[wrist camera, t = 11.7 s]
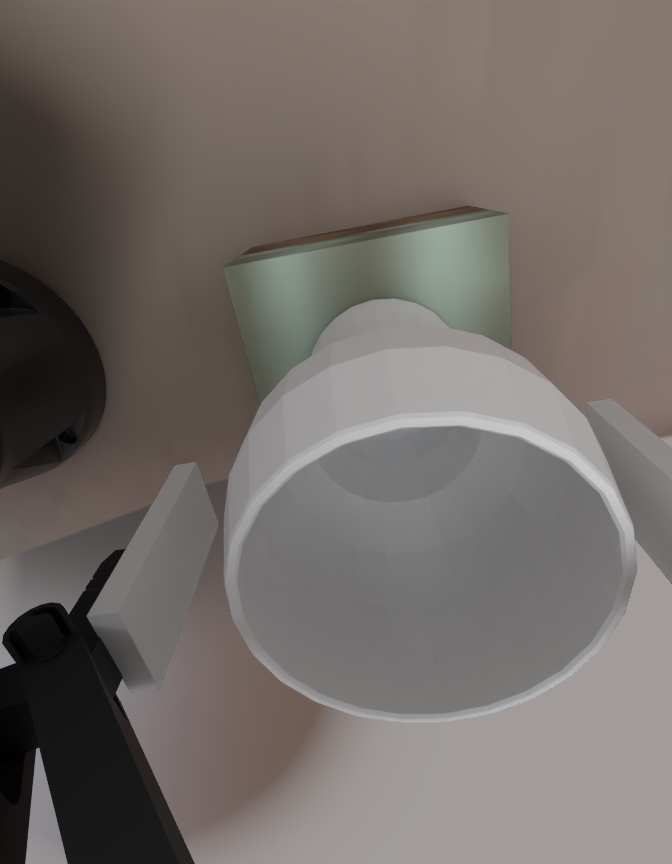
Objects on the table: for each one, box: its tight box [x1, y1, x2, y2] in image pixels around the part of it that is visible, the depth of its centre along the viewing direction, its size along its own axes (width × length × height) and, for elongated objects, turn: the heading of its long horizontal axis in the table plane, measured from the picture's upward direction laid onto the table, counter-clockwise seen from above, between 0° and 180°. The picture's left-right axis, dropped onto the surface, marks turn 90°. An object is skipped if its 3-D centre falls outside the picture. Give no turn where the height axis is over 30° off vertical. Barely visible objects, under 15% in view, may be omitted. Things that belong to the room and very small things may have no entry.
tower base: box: [223, 206, 511, 405], centre depth 28 cm, size 13×13×8 cm
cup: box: [224, 298, 637, 723], centre depth 18 cm, size 11×11×15 cm
